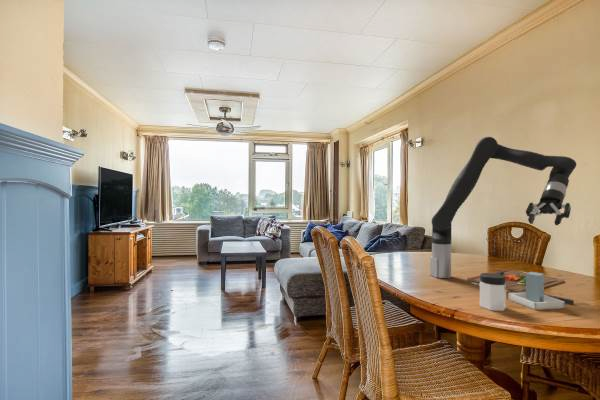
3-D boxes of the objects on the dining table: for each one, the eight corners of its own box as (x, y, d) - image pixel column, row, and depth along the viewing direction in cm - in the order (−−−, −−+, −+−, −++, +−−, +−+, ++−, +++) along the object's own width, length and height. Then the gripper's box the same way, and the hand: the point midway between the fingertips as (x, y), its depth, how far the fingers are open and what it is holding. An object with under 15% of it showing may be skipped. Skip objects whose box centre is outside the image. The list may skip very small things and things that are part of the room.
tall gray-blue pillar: (525, 301, 124) (525, 273, 124) (531, 299, 127) (531, 271, 127) (538, 304, 121) (538, 275, 121) (543, 302, 124) (544, 273, 124)
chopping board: (520, 296, 134) (520, 289, 134) (461, 282, 158) (461, 275, 158) (568, 282, 157) (568, 275, 157) (510, 271, 180) (510, 265, 180)
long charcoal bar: (538, 297, 131) (538, 293, 131) (539, 296, 132) (539, 293, 132) (572, 304, 122) (572, 300, 122) (573, 303, 123) (573, 300, 123)
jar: (482, 301, 126) (482, 271, 126) (507, 306, 121) (507, 274, 121) (477, 308, 119) (477, 275, 119) (503, 313, 114) (503, 279, 114)
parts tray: (534, 310, 117) (534, 303, 117) (508, 299, 129) (508, 293, 129) (564, 308, 119) (564, 301, 119) (535, 297, 131) (535, 291, 131)
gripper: (531, 188, 140) (520, 216, 133) (572, 188, 128) (562, 217, 122) (536, 200, 143) (525, 228, 136) (577, 201, 131) (567, 230, 125)
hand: (543, 223), depth 129 cm, fingers open, 8 cm apart
